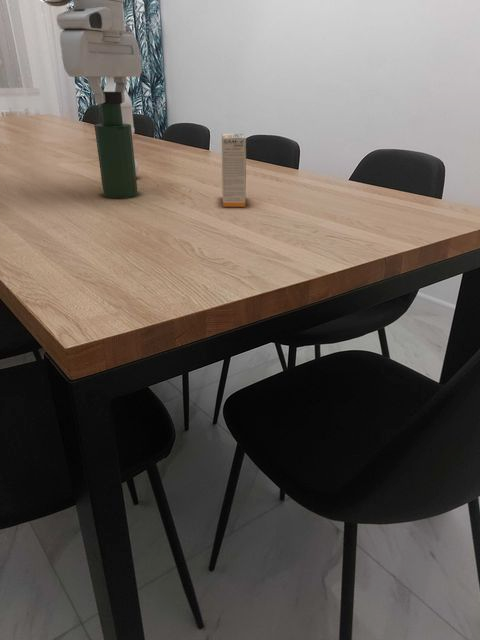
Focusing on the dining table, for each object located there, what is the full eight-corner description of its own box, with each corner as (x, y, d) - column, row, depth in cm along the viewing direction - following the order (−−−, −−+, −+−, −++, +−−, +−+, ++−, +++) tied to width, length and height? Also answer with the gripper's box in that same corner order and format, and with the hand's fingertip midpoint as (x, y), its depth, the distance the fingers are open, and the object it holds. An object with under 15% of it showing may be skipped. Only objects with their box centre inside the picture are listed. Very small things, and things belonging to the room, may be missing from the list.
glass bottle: (112, 200, 105) (100, 104, 96) (98, 193, 110) (85, 102, 101) (143, 195, 109) (134, 103, 100) (128, 190, 114) (119, 101, 105)
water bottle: (139, 175, 130) (128, 64, 117) (138, 180, 123) (127, 64, 111) (111, 176, 128) (97, 63, 116) (108, 181, 122) (93, 63, 110)
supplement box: (246, 207, 101) (246, 137, 95) (222, 207, 101) (221, 137, 95) (244, 198, 109) (244, 132, 102) (222, 198, 108) (221, 132, 102)
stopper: (106, 123, 100) (103, 92, 97) (97, 121, 103) (93, 91, 100) (128, 122, 102) (125, 92, 99) (118, 121, 105) (115, 91, 103)
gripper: (119, 25, 103) (127, 100, 110) (49, 16, 87) (63, 104, 93) (145, 25, 101) (152, 101, 108) (79, 15, 85) (91, 106, 91)
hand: (110, 103), depth 101 cm, fingers closed on stopper, 5 cm apart
